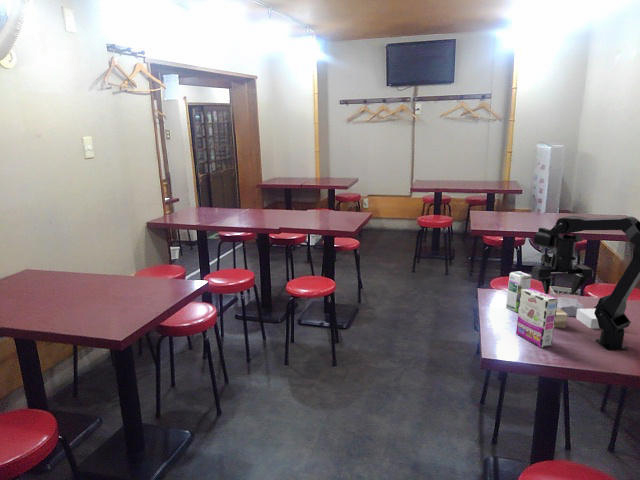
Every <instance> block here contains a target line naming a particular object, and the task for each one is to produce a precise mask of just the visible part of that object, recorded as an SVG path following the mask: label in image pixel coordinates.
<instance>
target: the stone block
mask: <svg viewBox="0 0 640 480" xmlns="http://www.w3.org/2000/svg"><path fill="white" fill-rule="evenodd" d="M556 298H557V299H558V302H557V309H561V310H562V311H564V312H565V313H566V314H567V317H576V314H577V309H586V308H585V306H584V304H582V303H580V302H579V301H578V299H577V298H570V297H565V296H563V297H556Z"/></svg>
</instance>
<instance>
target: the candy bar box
mask: <svg viewBox="0 0 640 480" xmlns="http://www.w3.org/2000/svg"><path fill="white" fill-rule="evenodd" d="M557 298H558V297H554V296H552V295H549V294H548V295H547V294H545V292H542V291H539V290H537V289H535V288H532V287H530V288H528V289H522V290H521V294H520V303H519V312H517V313H518V314H517V321H516V322H517V323H516V331H515V334H516V335H517V336H519V337H521V338H523V339H524V340H526V341H528V342H529V343H532V344H533V345H535V346H537V347H539V348H546V347H552V345H553V339H554V338H553V337H554V331H555V327H554V325H555V318H556V310H557V302H558V299H557Z"/></svg>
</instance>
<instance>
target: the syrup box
mask: <svg viewBox="0 0 640 480" xmlns="http://www.w3.org/2000/svg"><path fill="white" fill-rule="evenodd" d="M508 277H509V279H508V286H507V287H508V288H507V295H506V304H505V308H506V309H509V310H511V311H513V312H516V313H518V312H519V303H520V294H521V290H522V289H528V288H531V281H532V274H528V273H525V272H522V271H511V272H510V273H509V276H508Z"/></svg>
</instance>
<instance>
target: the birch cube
mask: <svg viewBox="0 0 640 480" xmlns="http://www.w3.org/2000/svg"><path fill="white" fill-rule="evenodd" d="M567 321H568V316H567V314H566V313H565V312H564V311H562V310H561V309H557V310H556V318H555V325H554V328H567Z"/></svg>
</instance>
